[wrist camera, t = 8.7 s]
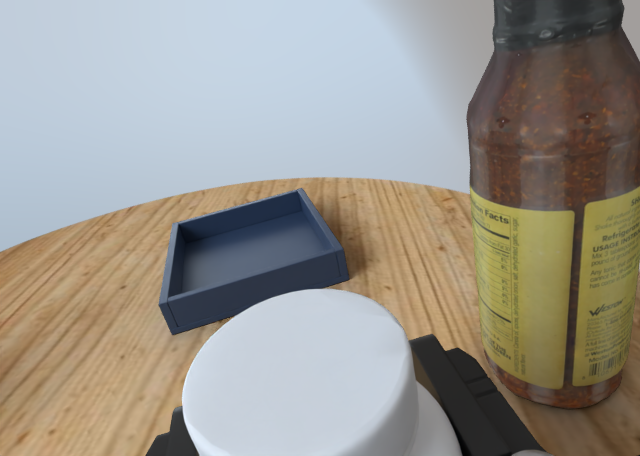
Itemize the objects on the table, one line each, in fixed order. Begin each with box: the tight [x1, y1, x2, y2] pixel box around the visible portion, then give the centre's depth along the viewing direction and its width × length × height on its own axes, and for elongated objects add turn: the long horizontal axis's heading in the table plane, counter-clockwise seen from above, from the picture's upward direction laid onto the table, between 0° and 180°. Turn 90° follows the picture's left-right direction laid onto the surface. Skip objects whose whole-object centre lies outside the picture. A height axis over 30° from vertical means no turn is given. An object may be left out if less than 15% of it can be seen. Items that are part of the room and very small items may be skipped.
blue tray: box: [159, 188, 349, 335], centre depth 36 cm, size 13×14×3 cm
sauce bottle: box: [467, 0, 640, 409], centre depth 17 cm, size 7×6×20 cm
